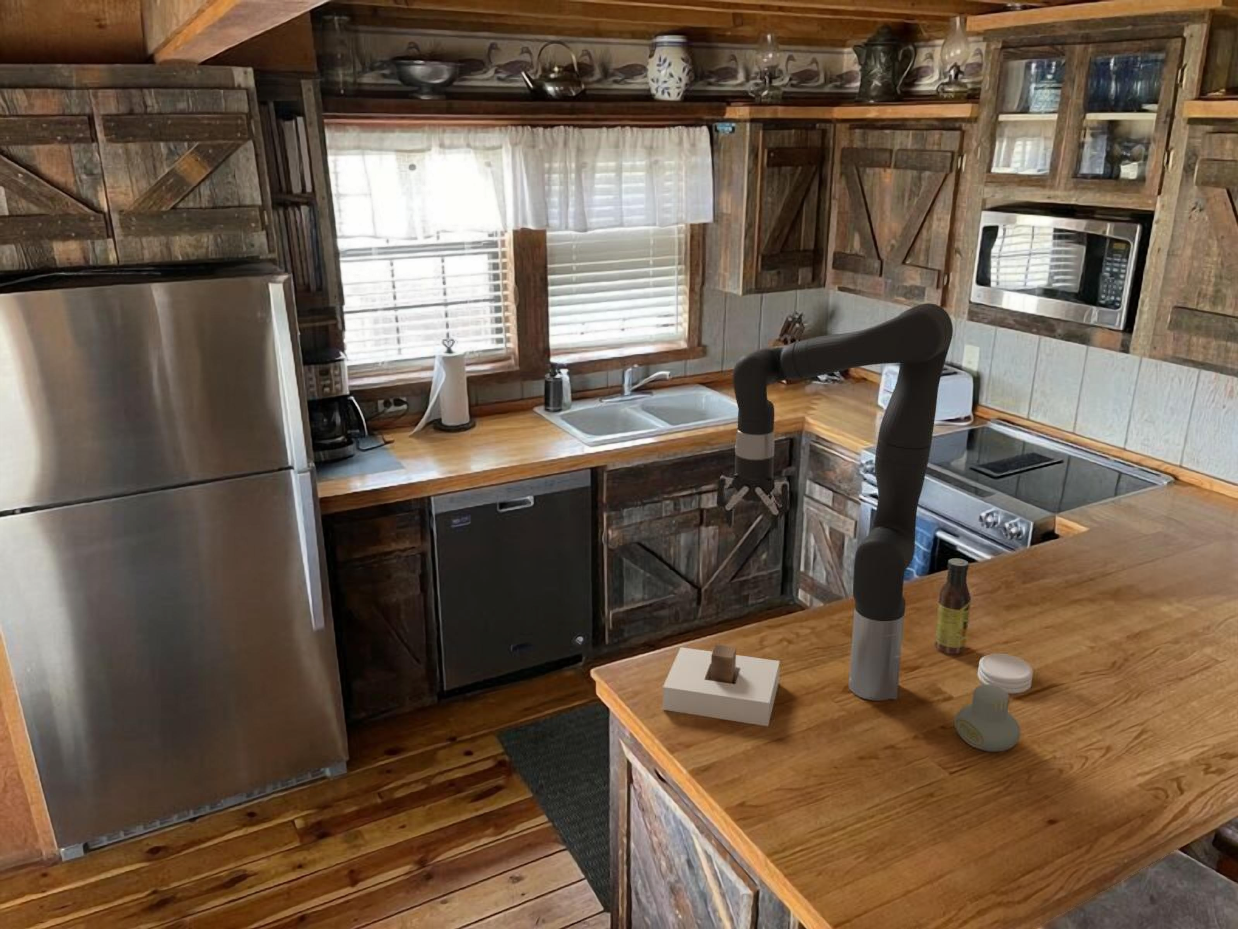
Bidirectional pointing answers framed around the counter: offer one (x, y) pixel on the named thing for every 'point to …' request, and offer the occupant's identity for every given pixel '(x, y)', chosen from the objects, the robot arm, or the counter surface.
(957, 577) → the sauce bottle
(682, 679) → the socket board
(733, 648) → the peg
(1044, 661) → the counter surface
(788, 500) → the robot arm
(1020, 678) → the coaster
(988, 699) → the air freshener
